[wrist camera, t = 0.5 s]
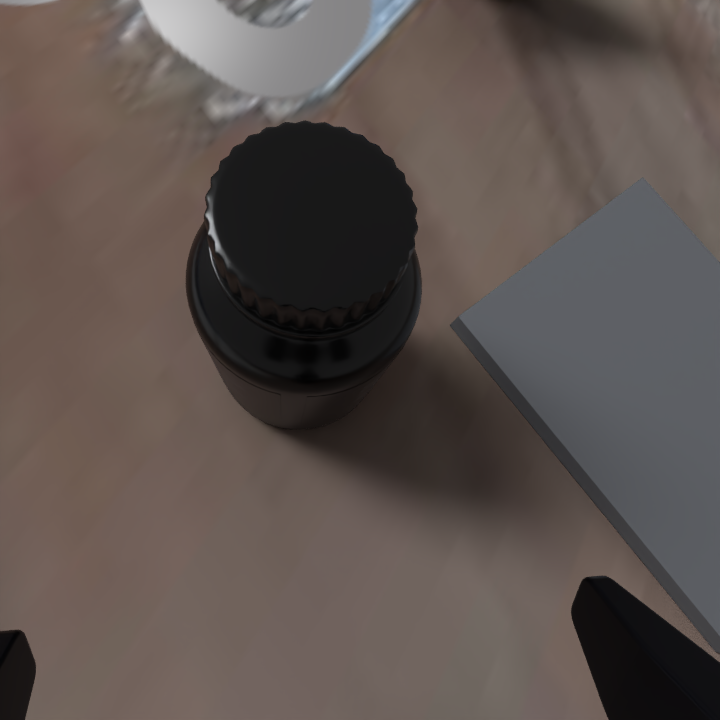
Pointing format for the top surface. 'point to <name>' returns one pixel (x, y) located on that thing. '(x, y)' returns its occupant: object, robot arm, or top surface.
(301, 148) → the supplement bottle
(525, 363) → the board
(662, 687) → the robot arm
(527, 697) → the top surface
